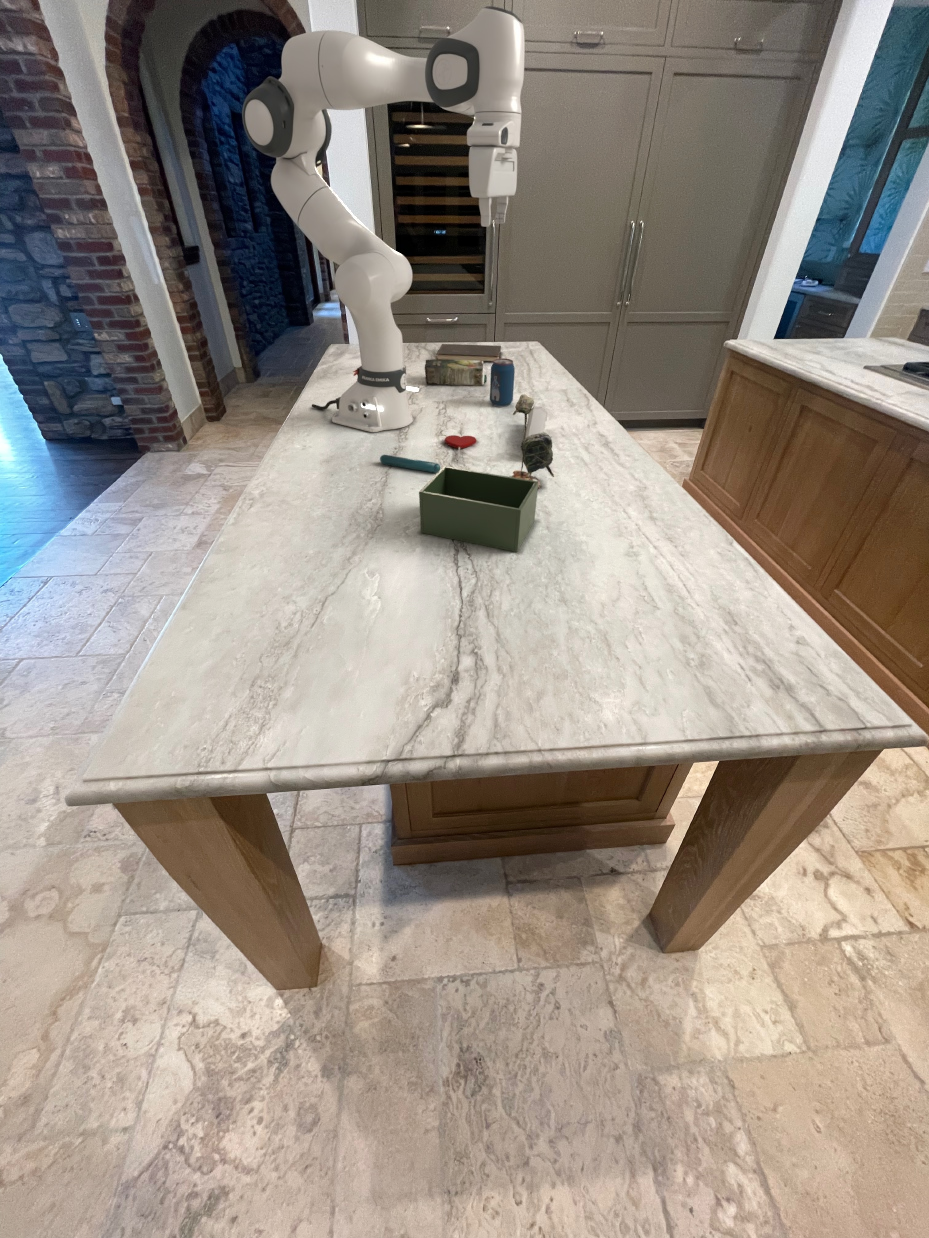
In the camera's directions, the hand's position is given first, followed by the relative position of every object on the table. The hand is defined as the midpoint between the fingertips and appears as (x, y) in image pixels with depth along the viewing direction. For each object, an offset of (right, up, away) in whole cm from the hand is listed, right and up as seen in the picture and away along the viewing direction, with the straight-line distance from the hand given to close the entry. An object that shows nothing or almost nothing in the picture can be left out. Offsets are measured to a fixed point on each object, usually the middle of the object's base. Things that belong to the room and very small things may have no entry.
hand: (493, 225), depth 111 cm
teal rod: (-19, -46, +14) cm, 52 cm away
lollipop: (-7, -40, +23) cm, 46 cm away
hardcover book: (-4, +19, +93) cm, 95 cm away
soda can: (+5, -17, +51) cm, 53 cm away
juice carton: (-9, -3, +68) cm, 68 cm away
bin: (-3, -64, -7) cm, 64 cm away
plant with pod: (+8, -52, +8) cm, 53 cm away
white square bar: (+12, -36, +27) cm, 47 cm away
